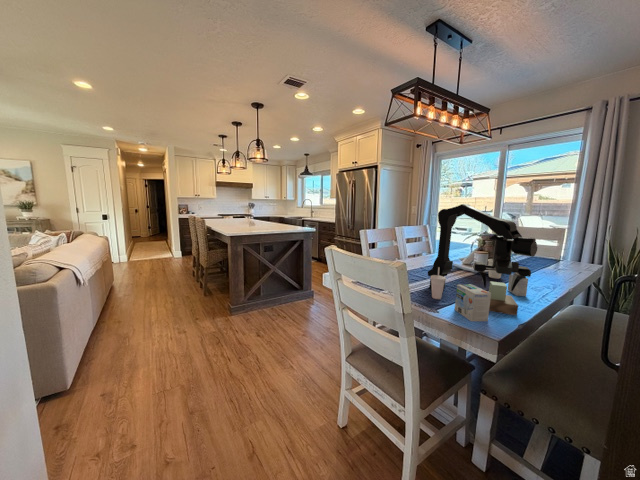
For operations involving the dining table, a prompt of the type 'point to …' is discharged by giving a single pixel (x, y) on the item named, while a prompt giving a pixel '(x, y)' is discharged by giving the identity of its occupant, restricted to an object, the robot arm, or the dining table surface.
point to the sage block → (497, 290)
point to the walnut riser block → (504, 306)
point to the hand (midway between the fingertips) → (498, 289)
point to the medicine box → (518, 286)
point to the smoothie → (437, 285)
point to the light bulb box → (472, 302)
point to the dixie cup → (493, 271)
